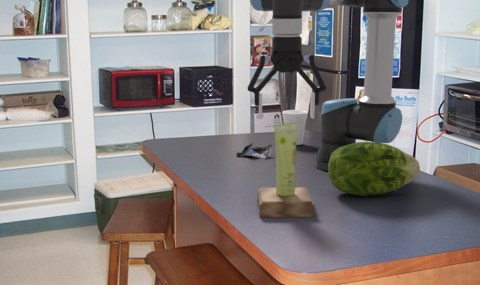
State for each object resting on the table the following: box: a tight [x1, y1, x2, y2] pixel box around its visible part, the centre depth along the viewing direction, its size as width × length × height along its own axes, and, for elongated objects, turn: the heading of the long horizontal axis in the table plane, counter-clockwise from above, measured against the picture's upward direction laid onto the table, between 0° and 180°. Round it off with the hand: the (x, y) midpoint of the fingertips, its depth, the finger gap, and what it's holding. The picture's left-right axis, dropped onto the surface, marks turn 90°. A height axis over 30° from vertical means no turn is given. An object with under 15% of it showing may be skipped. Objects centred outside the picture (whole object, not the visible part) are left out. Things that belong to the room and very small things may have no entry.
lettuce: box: [327, 141, 421, 197], centre depth 180 cm, size 15×27×16 cm, turn 97°
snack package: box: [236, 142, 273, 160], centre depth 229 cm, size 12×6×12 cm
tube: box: [273, 122, 298, 196], centre depth 166 cm, size 6×5×20 cm
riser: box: [256, 186, 315, 218], centre depth 168 cm, size 14×14×4 cm
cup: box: [282, 109, 309, 146], centre depth 247 cm, size 10×10×13 cm
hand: (286, 118), depth 164 cm, fingers open, 13 cm apart
